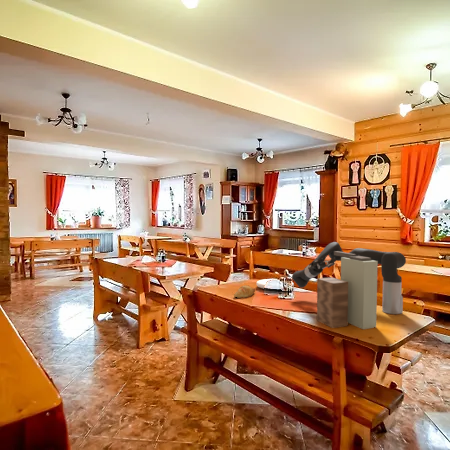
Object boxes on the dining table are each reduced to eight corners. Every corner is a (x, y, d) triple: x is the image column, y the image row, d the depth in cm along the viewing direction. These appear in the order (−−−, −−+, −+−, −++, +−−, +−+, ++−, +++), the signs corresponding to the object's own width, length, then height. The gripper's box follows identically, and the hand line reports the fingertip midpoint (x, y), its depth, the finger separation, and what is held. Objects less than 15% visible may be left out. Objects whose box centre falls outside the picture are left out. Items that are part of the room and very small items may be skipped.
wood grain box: (316, 320, 169) (317, 278, 168) (331, 318, 172) (331, 277, 172) (332, 328, 158) (333, 283, 157) (347, 325, 161) (348, 282, 160)
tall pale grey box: (340, 319, 171) (341, 257, 170) (352, 317, 174) (353, 256, 173) (363, 329, 156) (364, 262, 155) (376, 327, 159) (377, 261, 158)
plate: (258, 277, 256) (293, 278, 251) (258, 285, 256) (293, 287, 250) (254, 280, 229) (293, 282, 223) (254, 290, 228) (293, 292, 223)
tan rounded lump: (237, 304, 209) (242, 294, 206) (227, 295, 215) (231, 285, 212) (257, 297, 225) (262, 288, 222) (247, 288, 231) (251, 279, 228)
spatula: (331, 255, 179) (331, 251, 179) (340, 254, 181) (340, 251, 181) (361, 261, 158) (361, 256, 158) (371, 260, 160) (371, 256, 160)
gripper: (325, 275, 199) (341, 265, 185) (305, 276, 194) (320, 266, 180) (321, 263, 202) (337, 252, 189) (301, 264, 197) (316, 253, 183)
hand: (328, 259), depth 184 cm, fingers open, 8 cm apart
